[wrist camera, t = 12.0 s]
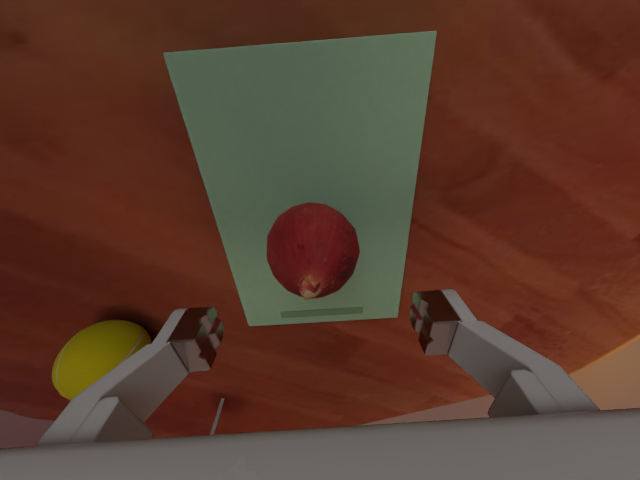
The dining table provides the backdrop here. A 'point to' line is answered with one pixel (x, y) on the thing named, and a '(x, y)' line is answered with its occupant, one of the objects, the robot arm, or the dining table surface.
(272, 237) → the onion
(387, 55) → the cutting board
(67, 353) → the tennis ball
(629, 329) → the dining table surface
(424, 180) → the dining table surface
